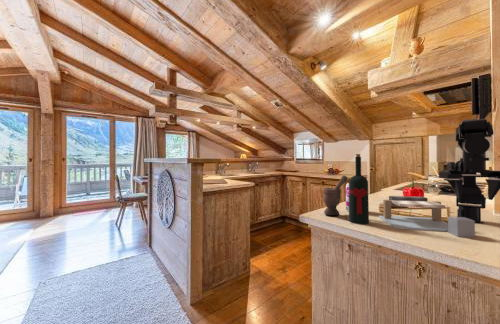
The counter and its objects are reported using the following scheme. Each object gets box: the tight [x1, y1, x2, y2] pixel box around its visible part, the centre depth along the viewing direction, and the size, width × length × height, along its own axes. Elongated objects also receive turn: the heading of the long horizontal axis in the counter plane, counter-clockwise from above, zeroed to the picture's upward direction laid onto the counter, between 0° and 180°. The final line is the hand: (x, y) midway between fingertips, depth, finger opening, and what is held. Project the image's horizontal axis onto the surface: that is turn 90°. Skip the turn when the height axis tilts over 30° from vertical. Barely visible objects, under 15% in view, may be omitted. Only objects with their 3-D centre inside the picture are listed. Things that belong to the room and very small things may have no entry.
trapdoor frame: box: [378, 199, 448, 232], centre depth 94 cm, size 23×19×9 cm
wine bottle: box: [348, 153, 370, 225], centre depth 96 cm, size 8×10×30 cm
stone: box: [447, 216, 476, 239], centre depth 79 cm, size 5×5×6 cm
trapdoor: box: [388, 195, 446, 209], centre depth 96 cm, size 16×14×4 cm
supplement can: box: [345, 182, 349, 213], centre depth 118 cm, size 8×8×15 cm
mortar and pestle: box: [322, 175, 348, 216], centre depth 112 cm, size 12×9×20 cm
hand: (474, 199), depth 78 cm, fingers open, 9 cm apart
